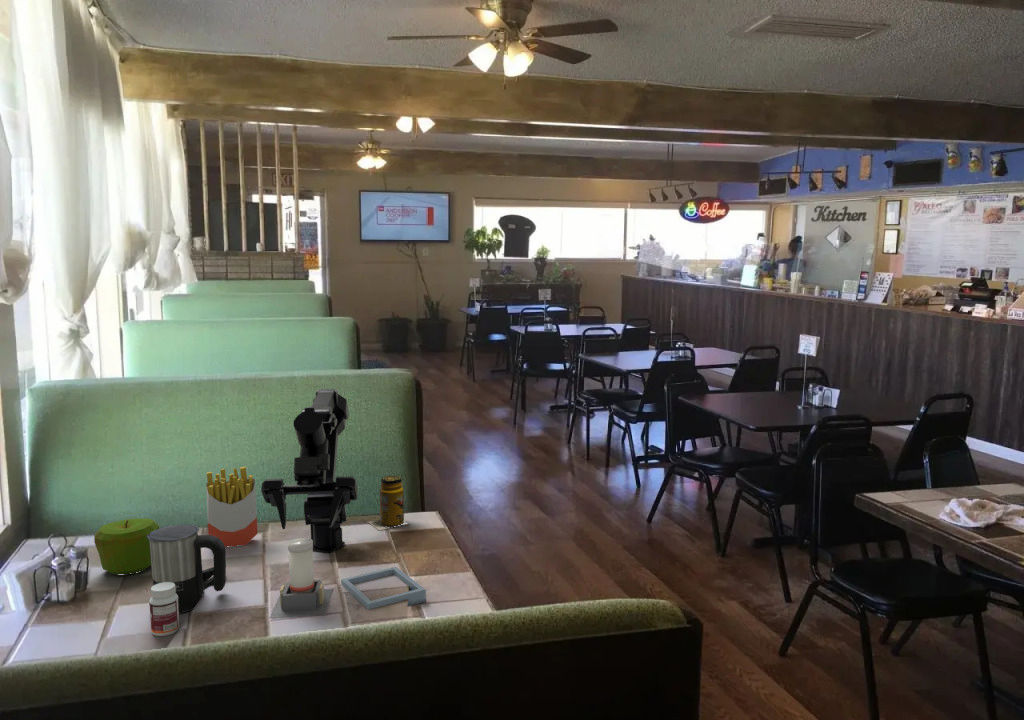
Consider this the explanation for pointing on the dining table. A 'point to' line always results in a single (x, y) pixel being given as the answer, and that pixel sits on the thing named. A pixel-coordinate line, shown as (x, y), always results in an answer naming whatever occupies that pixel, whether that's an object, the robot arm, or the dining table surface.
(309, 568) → the cylinder
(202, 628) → the dining table surface
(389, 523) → the condiment
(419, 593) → the tray
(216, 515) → the french fries container
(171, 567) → the milk frother
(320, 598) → the fuse holder
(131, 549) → the apple
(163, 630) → the pill bottle
